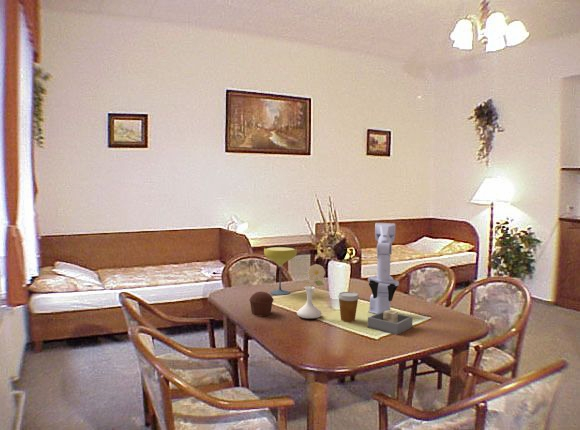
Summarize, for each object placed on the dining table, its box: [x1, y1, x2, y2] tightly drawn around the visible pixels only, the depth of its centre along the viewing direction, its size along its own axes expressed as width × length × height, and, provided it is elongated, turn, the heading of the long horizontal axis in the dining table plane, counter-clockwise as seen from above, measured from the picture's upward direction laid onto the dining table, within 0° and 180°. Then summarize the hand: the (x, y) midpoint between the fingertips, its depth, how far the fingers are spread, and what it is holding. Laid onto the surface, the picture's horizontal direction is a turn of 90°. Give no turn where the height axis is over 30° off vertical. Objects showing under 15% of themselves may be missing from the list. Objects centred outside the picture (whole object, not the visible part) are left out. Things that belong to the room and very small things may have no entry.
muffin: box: [249, 291, 274, 317], centre depth 227 cm, size 12×11×10 cm
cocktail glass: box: [263, 245, 298, 296], centre depth 266 cm, size 18×18×25 cm
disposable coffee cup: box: [337, 291, 360, 323], centre depth 218 cm, size 10×10×12 cm
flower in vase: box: [296, 263, 326, 319], centre depth 221 cm, size 13×11×25 cm
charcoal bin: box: [367, 311, 414, 336], centre depth 208 cm, size 14×14×4 cm
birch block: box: [383, 309, 399, 323], centre depth 208 cm, size 4×4×6 cm
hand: (382, 299), depth 215 cm, fingers open, 7 cm apart
